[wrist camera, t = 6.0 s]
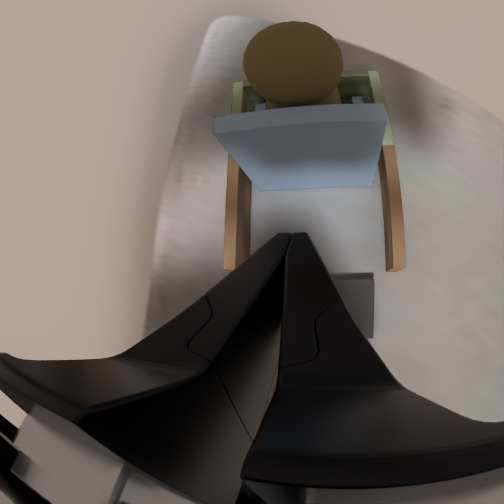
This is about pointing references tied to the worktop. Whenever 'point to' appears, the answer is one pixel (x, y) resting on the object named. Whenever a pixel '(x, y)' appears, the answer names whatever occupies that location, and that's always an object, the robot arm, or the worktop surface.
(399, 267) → the track
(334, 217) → the worktop surface
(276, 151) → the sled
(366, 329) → the pit mat
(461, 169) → the worktop surface
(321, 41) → the cork
